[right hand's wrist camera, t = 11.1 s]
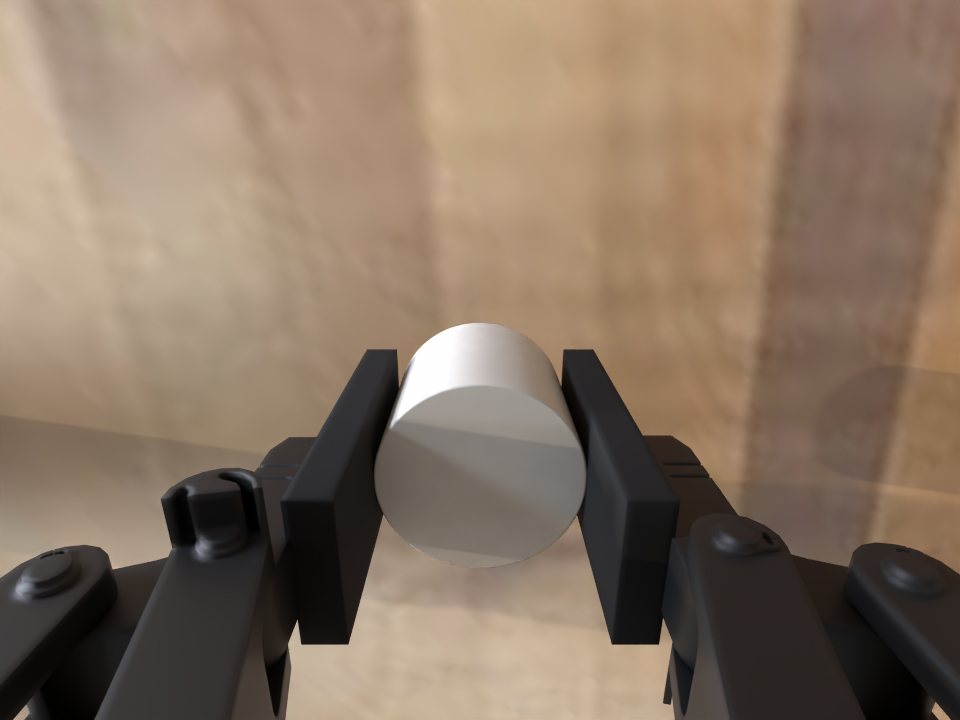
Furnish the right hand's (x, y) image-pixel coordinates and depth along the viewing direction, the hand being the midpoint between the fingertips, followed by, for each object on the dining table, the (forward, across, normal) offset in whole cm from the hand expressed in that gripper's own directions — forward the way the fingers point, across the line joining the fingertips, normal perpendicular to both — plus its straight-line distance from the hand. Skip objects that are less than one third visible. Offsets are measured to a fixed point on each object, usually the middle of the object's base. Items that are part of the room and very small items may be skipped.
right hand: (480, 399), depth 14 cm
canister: (0, 0, 0) cm, 0 cm away
